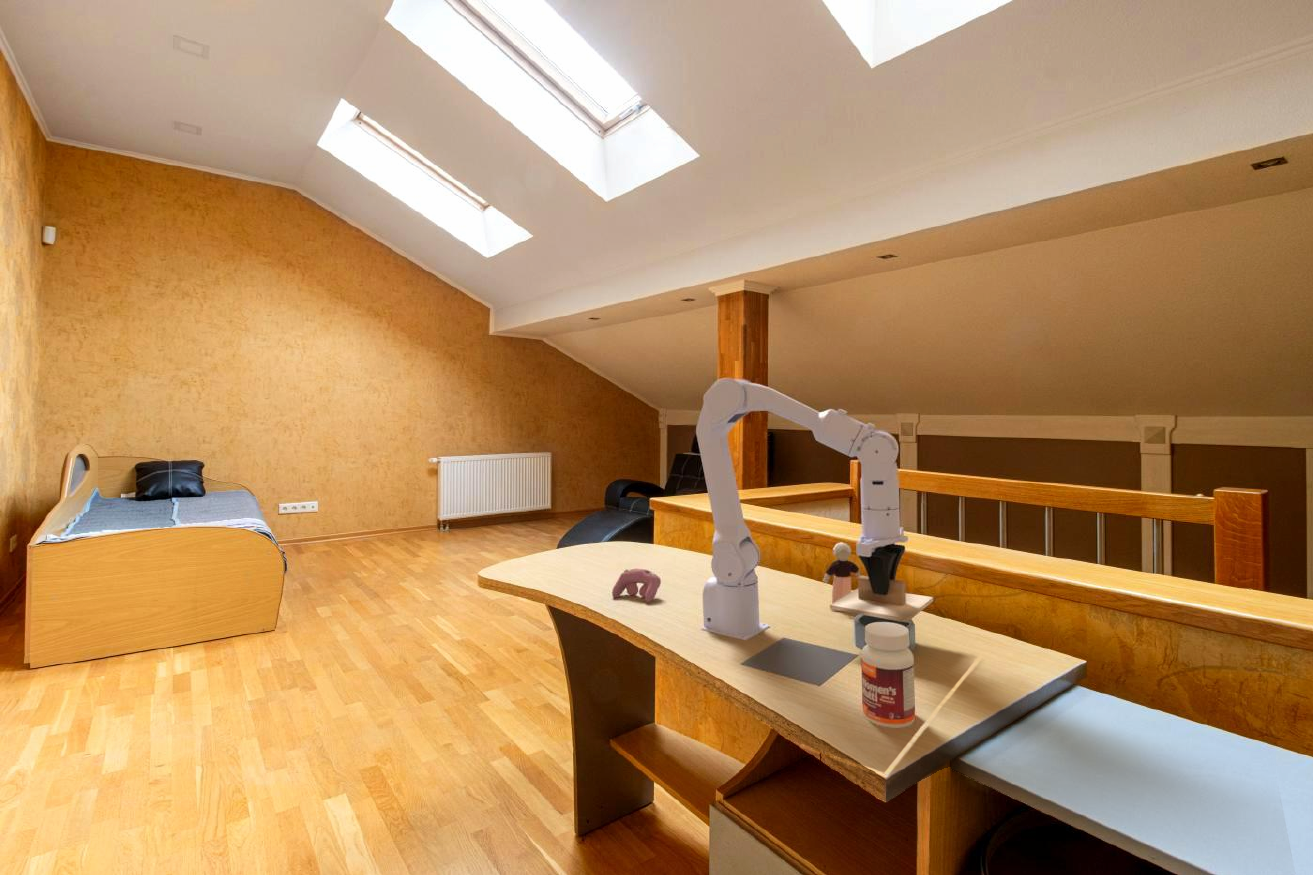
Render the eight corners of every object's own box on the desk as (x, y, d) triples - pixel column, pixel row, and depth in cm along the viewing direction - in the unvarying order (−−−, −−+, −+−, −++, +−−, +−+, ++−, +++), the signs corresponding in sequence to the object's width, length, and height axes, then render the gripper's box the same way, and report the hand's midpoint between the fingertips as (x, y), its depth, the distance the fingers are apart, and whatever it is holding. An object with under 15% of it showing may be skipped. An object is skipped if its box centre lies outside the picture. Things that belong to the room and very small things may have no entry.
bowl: (845, 649, 100) (844, 624, 99) (868, 632, 106) (867, 608, 106) (902, 662, 94) (901, 635, 93) (922, 643, 100) (922, 618, 100)
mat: (740, 666, 95) (740, 663, 95) (783, 639, 105) (783, 637, 105) (819, 688, 86) (819, 685, 86) (858, 657, 96) (858, 654, 96)
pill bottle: (854, 721, 77) (851, 631, 77) (873, 701, 82) (871, 616, 81) (905, 736, 73) (903, 641, 73) (922, 715, 78) (920, 625, 77)
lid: (830, 608, 99) (829, 583, 99) (860, 589, 108) (859, 566, 108) (906, 622, 91) (906, 594, 91) (933, 600, 100) (932, 575, 100)
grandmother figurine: (834, 614, 116) (832, 546, 115) (821, 608, 119) (819, 542, 119) (867, 607, 119) (865, 541, 118) (853, 602, 122) (851, 538, 122)
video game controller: (659, 606, 130) (665, 573, 133) (648, 602, 127) (654, 568, 129) (620, 600, 136) (627, 568, 138) (608, 596, 132) (616, 563, 134)
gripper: (888, 516, 91) (890, 608, 91) (921, 502, 102) (923, 584, 102) (842, 513, 95) (844, 600, 96) (878, 499, 106) (881, 578, 107)
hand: (882, 592), depth 100 cm, fingers closed on lid, 2 cm apart
